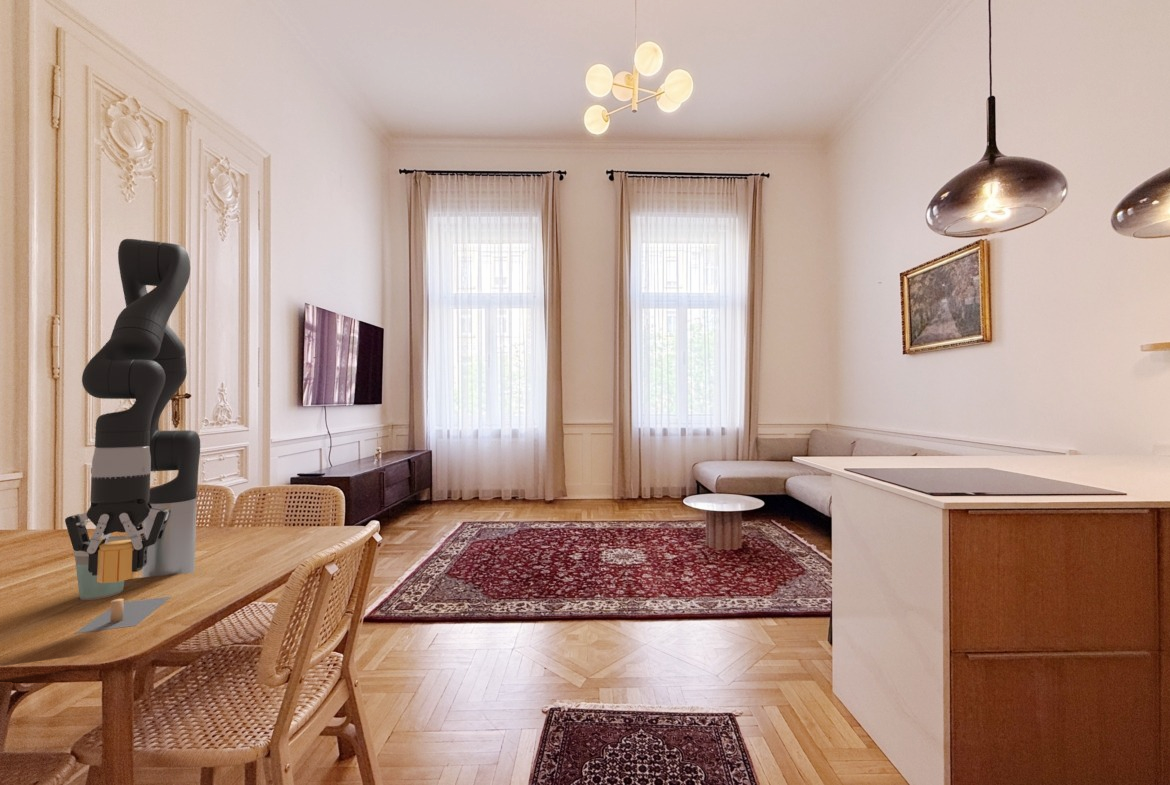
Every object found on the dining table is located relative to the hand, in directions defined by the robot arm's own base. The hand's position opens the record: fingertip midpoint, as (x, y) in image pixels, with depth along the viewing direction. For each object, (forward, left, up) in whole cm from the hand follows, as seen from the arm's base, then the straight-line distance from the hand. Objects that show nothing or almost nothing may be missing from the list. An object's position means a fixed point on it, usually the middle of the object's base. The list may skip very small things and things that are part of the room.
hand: (117, 571), depth 85 cm
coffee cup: (-18, -10, -10) cm, 22 cm away
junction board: (-4, 0, -10) cm, 11 cm away
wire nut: (0, 0, -1) cm, 1 cm away
